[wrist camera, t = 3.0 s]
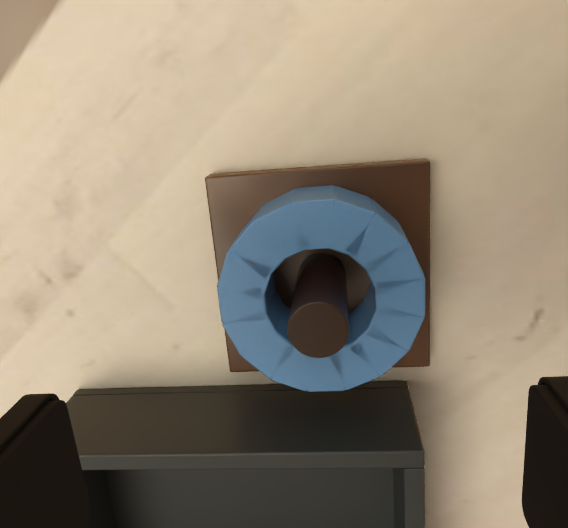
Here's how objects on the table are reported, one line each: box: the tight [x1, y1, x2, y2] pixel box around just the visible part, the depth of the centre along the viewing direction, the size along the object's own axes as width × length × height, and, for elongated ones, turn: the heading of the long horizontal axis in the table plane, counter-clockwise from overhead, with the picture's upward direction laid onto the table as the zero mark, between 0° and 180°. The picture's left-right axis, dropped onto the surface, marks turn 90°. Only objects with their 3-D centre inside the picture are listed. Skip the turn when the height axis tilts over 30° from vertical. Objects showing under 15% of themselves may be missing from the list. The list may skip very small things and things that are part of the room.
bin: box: [66, 381, 425, 528], centre depth 22 cm, size 11×14×4 cm
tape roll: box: [217, 185, 425, 392], centre depth 18 cm, size 7×7×3 cm
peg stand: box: [205, 159, 430, 372], centre depth 18 cm, size 8×8×6 cm
